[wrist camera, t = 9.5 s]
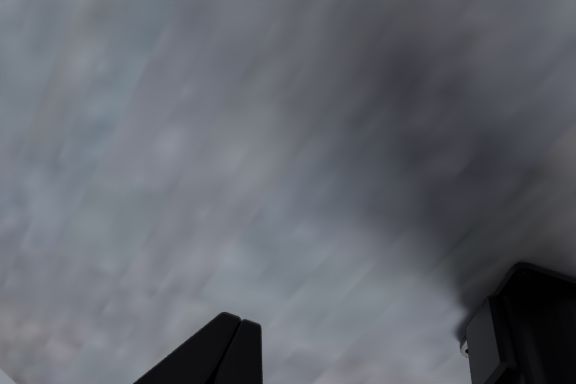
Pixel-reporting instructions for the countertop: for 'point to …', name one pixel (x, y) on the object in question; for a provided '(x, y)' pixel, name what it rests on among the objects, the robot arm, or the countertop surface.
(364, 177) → the countertop surface
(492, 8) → the countertop surface
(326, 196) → the countertop surface
